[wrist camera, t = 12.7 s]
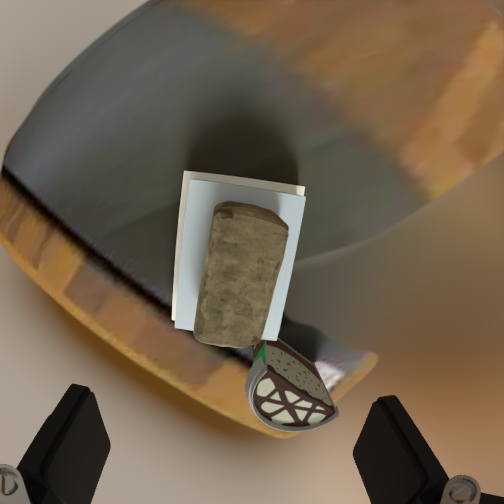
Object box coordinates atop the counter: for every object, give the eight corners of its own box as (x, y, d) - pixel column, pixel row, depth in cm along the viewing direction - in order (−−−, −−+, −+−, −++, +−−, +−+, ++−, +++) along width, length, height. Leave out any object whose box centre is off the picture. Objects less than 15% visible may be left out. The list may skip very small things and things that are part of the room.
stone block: (196, 318, 28) (190, 345, 23) (216, 196, 25) (212, 200, 20) (257, 328, 28) (261, 356, 24) (283, 209, 26) (294, 216, 21)
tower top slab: (196, 178, 29) (190, 179, 25) (296, 194, 30) (305, 197, 26) (181, 310, 32) (174, 327, 28) (272, 322, 33) (276, 340, 29)
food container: (223, 352, 37) (220, 404, 27) (255, 320, 36) (262, 368, 27) (290, 396, 40) (302, 447, 30) (321, 369, 39) (342, 418, 29)
